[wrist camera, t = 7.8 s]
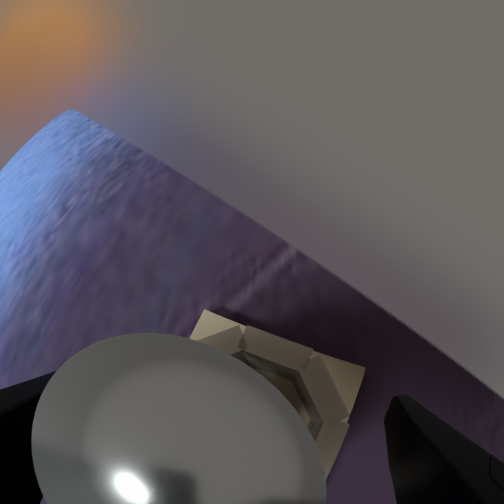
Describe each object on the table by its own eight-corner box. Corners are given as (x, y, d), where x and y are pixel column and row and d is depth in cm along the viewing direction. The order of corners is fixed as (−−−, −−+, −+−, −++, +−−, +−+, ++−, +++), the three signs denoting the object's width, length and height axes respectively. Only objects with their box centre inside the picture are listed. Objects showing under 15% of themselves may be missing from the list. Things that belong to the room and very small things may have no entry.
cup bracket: (296, 518, 11) (305, 553, 6) (140, 451, 13) (96, 459, 9) (360, 370, 15) (392, 352, 11) (207, 314, 18) (187, 280, 14)
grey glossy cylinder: (245, 465, 12) (157, 617, 1) (201, 418, 14) (1, 419, 2) (297, 423, 13) (394, 492, 2) (251, 377, 15) (173, 272, 3)
